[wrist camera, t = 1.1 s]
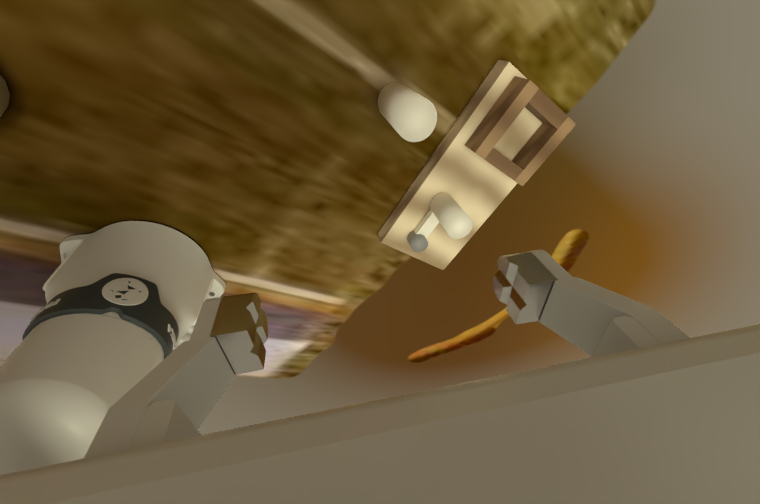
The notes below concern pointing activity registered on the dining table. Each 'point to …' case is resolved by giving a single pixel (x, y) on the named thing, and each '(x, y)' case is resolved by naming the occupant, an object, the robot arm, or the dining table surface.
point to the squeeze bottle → (3, 96)
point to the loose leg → (407, 112)
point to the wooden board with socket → (480, 160)
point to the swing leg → (441, 221)
